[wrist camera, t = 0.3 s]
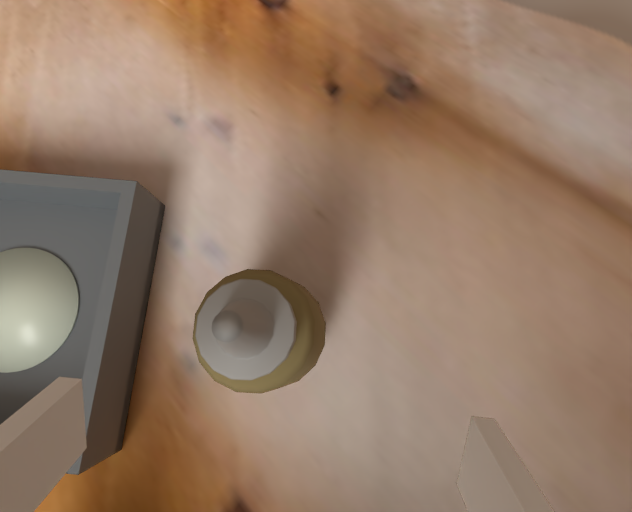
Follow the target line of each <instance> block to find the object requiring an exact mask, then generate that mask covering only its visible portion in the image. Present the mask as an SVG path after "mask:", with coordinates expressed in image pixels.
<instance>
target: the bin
mask: <svg viewBox="0 0 632 512" xmlns="http://www.w3.org/2000/svg"><path fill="white" fill-rule="evenodd" d="M164 209H165V205H163V204H162V203H161V202H160V201H159V200H158V199H157V198H155V197H154V196H153V195H152V194H151V193H150V192H148V191H147V190H146V189H145V188H144V187H143V186H142V185H140V184H139V183H138V182H137V181H128V180H116V179H105V178H93V177H81V176H70V175H58V174H46V173H35V172H23V171H11V170H0V425H1V424H2V423H3V422H4V421H5V420H7V419H8V418H9V417H10V416H12V415H13V414H14V413H15V412H17V411H18V410H19V409H20V408H21V407H23V406H24V405H25V404H26V403H28V402H29V401H30V400H31V399H32V398H34V397H35V396H36V395H37V394H39V393H40V392H41V391H42V390H44V389H45V388H46V387H47V386H48V385H50V384H51V383H52V382H53V381H55V380H56V379H57V378H58V377H67V378H77V379H82V388H83V402H84V416H85V431H86V445H87V448H86V449H85V451H84V452H83V453H82V454H81V455H80V457H79V458H78V459H77V460H76V461H75V463H74V464H73V465H72V466H71V467H70V469H69V470H68V471H67V472H66V474H77V475H79V474H80V473H82V472H84V471H86V470H87V469H89V468H91V467H92V466H94V465H96V464H97V463H99V462H101V461H103V460H104V459H106V458H108V457H109V456H111V455H113V454H115V453H116V452H118V451H120V450H121V449H122V443H123V438H124V432H125V426H126V421H127V415H128V410H129V404H130V399H131V393H132V388H133V382H134V376H135V371H136V365H137V360H138V354H139V349H140V343H141V337H142V332H143V326H144V321H145V315H146V310H147V304H148V298H149V293H150V287H151V282H152V276H153V271H154V265H155V259H156V254H157V248H158V243H159V237H160V232H161V226H162V220H163V215H164Z"/></svg>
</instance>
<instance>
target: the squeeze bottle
mask: <svg viewBox="0 0 632 512" xmlns="http://www.w3.org/2000/svg"><path fill="white" fill-rule="evenodd" d="M325 325H326V323H325V320H324V317H323V314H322V312H321V309H320V306H319V303H318V302H317V301H316V300H315V299H314V297H313V296H312V295H311V294H310V293H309V292H308V291H307V290H306V289H305V287H303V286H301V285H299V284H297V283H295V282H294V281H292V280H290V279H288V278H285V277H283V276H281V275H279V274H277V273H275V272H273V271H270V270H251V269H247V270H244V271H241V272H238V273H235V274H232V275H230V276H227V277H225V278H224V279H222V280H221V281H220V282H219V283H218V284H216V285H215V286H214V287H213V288H212V289H211V290H209V291H208V292H207V294H206V295H205V297H204V299H203V301H202V303H201V305H200V307H199V308H198V310H197V312H196V314H195V323H194V331H193V341H194V345H195V348H196V352H197V355H198V359H199V362H200V363H201V365H202V366H203V367H204V368H205V370H206V371H207V372H208V373H209V374H210V376H211V377H212V378H213V379H214V381H216V382H218V383H220V384H222V385H224V386H226V387H228V388H230V389H232V390H234V391H235V392H246V393H264V392H267V391H271V390H274V389H278V388H280V387H283V386H286V385H288V384H291V383H294V382H297V381H299V380H300V379H301V378H302V377H303V376H304V375H305V374H307V373H308V372H309V371H310V370H311V369H312V368H313V367H314V366H315V365H316V363H317V361H318V358H319V356H320V354H321V352H322V350H323V347H324V345H325Z"/></svg>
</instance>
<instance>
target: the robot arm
mask: <svg viewBox="0 0 632 512" xmlns="http://www.w3.org/2000/svg"><path fill="white" fill-rule="evenodd" d="M86 448H87V445H86V431H85V416H84V402H83V388H82V379H77V378H67V377H58V378H57V379H56V380H55V381H53V382H52V383H51V384H50V385H48V386H47V387H46V388H45V389H44V390H42V391H41V392H40V393H39V394H37V395H36V396H35V397H34V398H32V399H31V400H30V401H29V402H28V403H26V404H25V405H24V406H23V407H21V408H20V409H19V410H18V411H17V412H15V413H14V414H13V415H12V416H10V417H9V418H8V419H7V420H5V421H4V422H3V423H2V424H1V425H0V512H34V511H35V510H36V508H37V507H38V506H39V505H40V503H41V502H42V501H43V500H44V499H45V497H46V496H47V495H48V494H49V493H50V491H51V490H52V489H53V488H54V487H55V485H56V484H57V483H58V482H59V481H60V479H61V478H62V477H63V476H64V475H65V473H66V472H67V471H68V470H69V469H70V467H71V466H72V465H73V464H74V463H75V461H76V460H77V459H78V458H79V457H80V455H81V454H82V453H83V452H84V451H85V449H86ZM457 486H458V489H459V491H460V494H461V496H462V499H463V501H464V504H465V506H466V509H467V511H468V512H554V510H553V508H552V507H551V505H550V504H549V502H548V501H547V499H546V498H545V496H544V495H543V493H542V491H541V490H540V488H539V487H538V485H537V484H536V482H535V481H534V479H533V478H532V476H531V474H530V473H529V471H528V470H527V468H526V467H525V465H524V464H523V462H522V461H521V459H520V457H519V456H518V454H517V453H516V451H515V450H514V448H513V447H512V445H511V444H510V442H509V440H508V439H507V437H506V436H505V434H504V433H503V431H502V430H501V428H500V427H499V425H498V423H497V422H496V420H495V419H493V418H482V417H471V421H470V426H469V430H468V435H467V439H466V444H465V448H464V453H463V457H462V462H461V466H460V470H459V475H458V479H457Z"/></svg>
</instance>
